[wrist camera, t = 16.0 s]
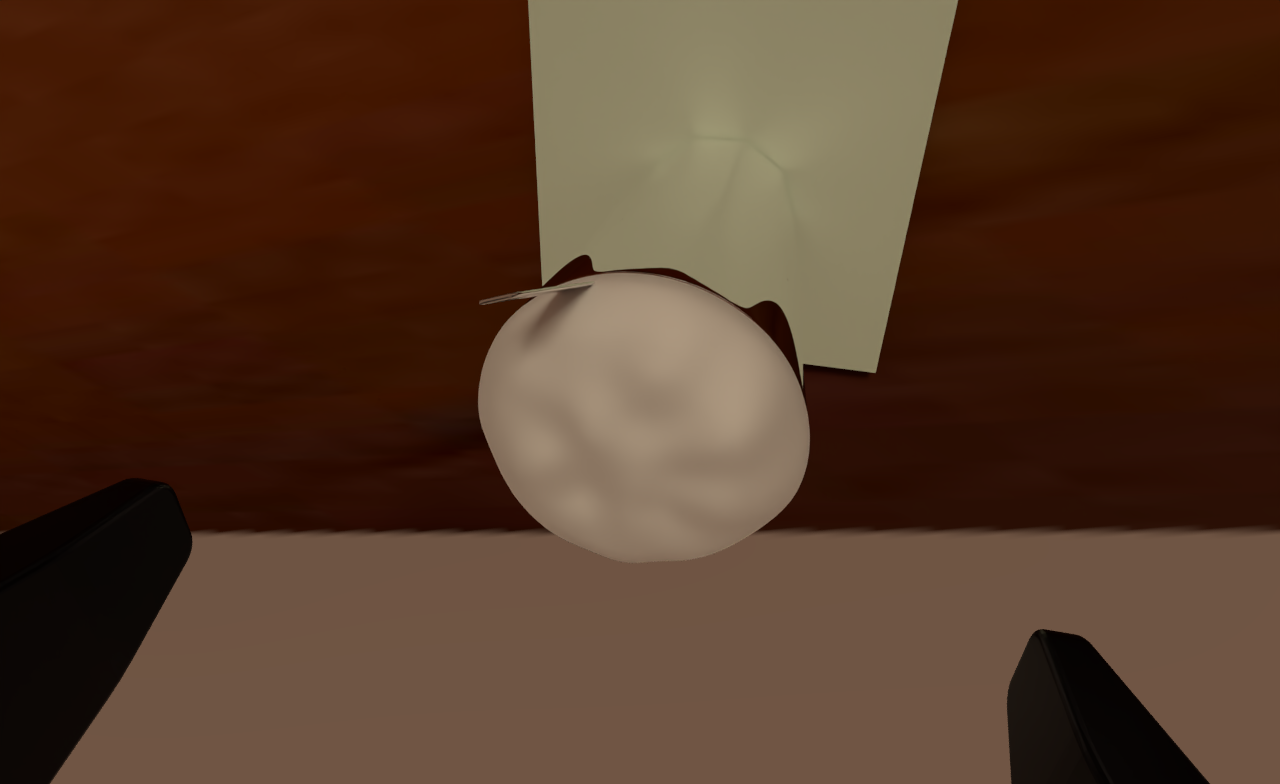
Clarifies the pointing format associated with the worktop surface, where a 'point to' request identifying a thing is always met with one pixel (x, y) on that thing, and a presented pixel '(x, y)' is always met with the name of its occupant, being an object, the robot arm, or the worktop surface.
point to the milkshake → (660, 367)
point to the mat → (749, 128)
